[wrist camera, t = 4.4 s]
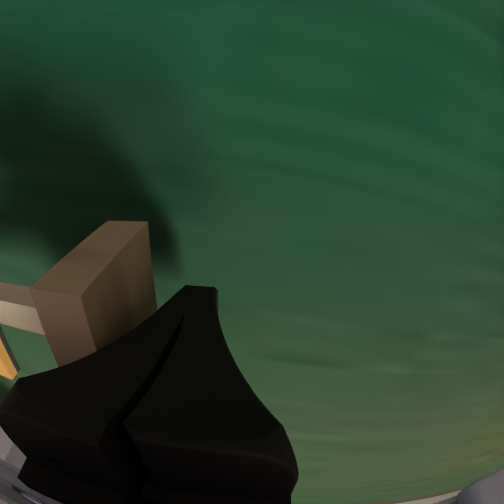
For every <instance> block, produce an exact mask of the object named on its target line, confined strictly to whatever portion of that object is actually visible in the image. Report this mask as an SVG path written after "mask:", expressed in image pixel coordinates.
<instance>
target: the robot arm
mask: <svg viewBox="0 0 504 504" xmlns="http://www.w3.org/2000/svg"><path fill="white" fill-rule="evenodd" d="M0 426H1V427H2V429H3V430H4V432H5V433H6V434H7V435H8V437H9V438H10V439H11V440H12V441H13V445H12V447H11V449H10V451H9V453H8V455H7V457H6V459H5V460H2V459H0V504H291V494H292V491H293V489H294V487H295V485H296V483H297V480H298V467H297V462H296V458H295V455H294V452H293V449H292V446H291V444H290V441H289V439H288V437H287V434H286V432H285V430H284V427H283V425H282V424H281V423H280V422H279V421H278V420H277V419H276V418H275V417H274V416H273V415H272V414H271V413H270V411H269V410H268V409H267V408H266V407H265V406H264V405H263V403H262V402H261V401H260V400H259V398H258V397H257V396H256V394H255V393H254V392H253V390H252V389H251V387H250V386H249V384H248V383H247V381H246V380H245V378H244V377H243V375H242V374H241V372H240V370H239V368H238V367H237V365H236V363H235V361H234V359H233V357H232V355H231V353H230V351H229V348H228V346H227V344H226V341H225V338H224V335H223V333H222V329H221V326H220V322H219V318H218V290H217V289H216V288H215V287H204V286H189V285H185V286H184V287H183V288H182V289H181V290H179V291H178V292H177V293H176V294H175V295H174V296H173V297H172V298H171V299H169V300H168V301H167V302H166V303H165V304H164V305H163V306H162V307H160V308H159V309H158V310H157V311H156V312H155V313H153V314H152V315H151V316H150V317H149V318H147V319H146V320H145V321H143V322H142V323H141V324H139V325H138V326H137V327H136V328H134V329H133V330H131V331H130V332H129V333H127V334H126V335H124V336H122V337H121V338H119V339H118V340H116V341H114V342H113V343H111V344H109V345H107V346H106V347H104V348H102V349H100V350H98V351H96V352H94V353H92V354H90V355H88V356H86V357H84V358H81V359H79V360H76V361H74V362H72V363H69V364H66V365H64V366H61V367H58V368H55V369H52V370H49V371H45V372H42V373H38V374H34V375H30V376H27V377H22V378H19V379H18V380H17V381H16V383H15V384H14V386H13V387H12V389H11V390H10V392H9V393H8V395H7V396H6V398H5V399H4V401H3V403H2V404H1V406H0ZM434 504H504V470H503V469H501V470H499V471H497V472H495V473H493V474H491V475H488V476H486V477H484V478H481V479H479V480H477V481H475V482H473V483H472V484H470V485H468V486H467V487H465V488H464V489H463V490H462V491H461V492H459V493H458V495H457V496H455V497H452V498H449V499H446V500H443V501H440V502H438V503H434Z"/></svg>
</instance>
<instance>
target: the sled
mask: <svg viewBox="0 0 504 504" xmlns="http://www.w3.org/2000/svg"><path fill="white" fill-rule="evenodd" d="M157 310H158V309H157V302H156V295H155V287H154V279H153V270H152V261H151V251H150V240H149V229H148V222H145V221H107V222H105V223H104V224H103V225H102V226H100V227H99V228H98V229H97V230H95V231H94V232H93V233H92V234H90V235H89V236H88V237H87V238H86V239H84V240H83V241H82V242H81V243H80V244H78V245H77V246H76V247H75V248H74V249H72V250H71V251H70V252H69V253H68V254H67V255H66V256H64V257H63V258H62V259H61V260H60V261H59V262H58V263H56V264H55V265H54V266H53V267H52V268H51V269H50V270H49V271H48V272H46V273H45V274H44V275H43V276H42V277H41V278H40V279H39V280H38V281H37V282H36V283H35V284H34V285H32V286H31V287H26V286H20V285H14V284H8V283H2V282H0V323H1V324H5V325H9V326H12V327H16V328H20V329H23V330H27V331H31V332H35V333H39V334H44V335H46V338H47V340H48V343H49V345H50V348H51V350H52V352H53V355H54V357H55V359H56V362H57V364H58V366H59V367H61V366H64V365H66V364H69V363H72V362H74V361H76V360H79V359H81V358H84V357H86V356H88V355H90V354H92V353H94V352H96V351H98V350H100V349H102V348H104V347H106V346H107V345H109V344H111V343H113V342H114V341H116V340H118V339H119V338H121V337H122V336H124V335H126V334H127V333H129V332H130V331H131V330H133V329H134V328H136V327H137V326H138V325H139V324H141V323H142V322H143V321H145V320H146V319H147V318H149V317H150V316H151V315H152V314H153V313H155V312H156V311H157Z"/></svg>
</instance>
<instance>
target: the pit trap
mask: <svg viewBox="0 0 504 504" xmlns="http://www.w3.org/2000/svg"><path fill="white" fill-rule="evenodd" d="M19 370H20V368H19V366H18V364H17V362H16V360H15V358H14V356H13V354H12V352H11V350H10V348H9V346H8V344H7V342H6V340H5V337H4V335H3V333H2V331H1V328H0V375H2V376H4V377H7V378H9V379H12V380H13V378H14V377H15V375H16V374H17V373H18V371H19Z"/></svg>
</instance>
